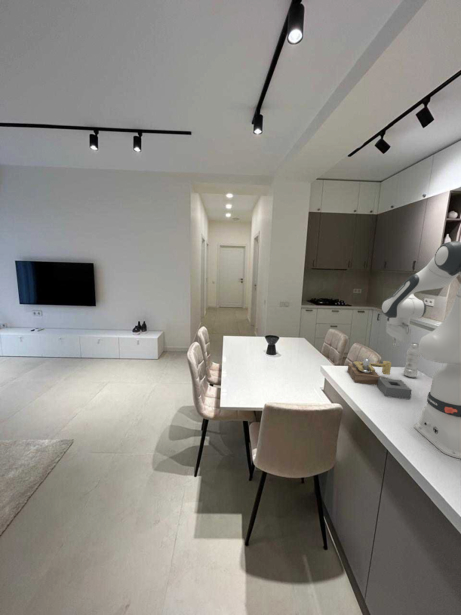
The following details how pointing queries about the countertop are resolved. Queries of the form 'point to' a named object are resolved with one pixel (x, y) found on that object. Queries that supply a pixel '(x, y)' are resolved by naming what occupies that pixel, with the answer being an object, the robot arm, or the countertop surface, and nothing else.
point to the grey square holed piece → (394, 388)
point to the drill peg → (366, 366)
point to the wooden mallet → (385, 366)
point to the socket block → (362, 375)
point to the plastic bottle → (412, 360)
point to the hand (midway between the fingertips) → (395, 346)
